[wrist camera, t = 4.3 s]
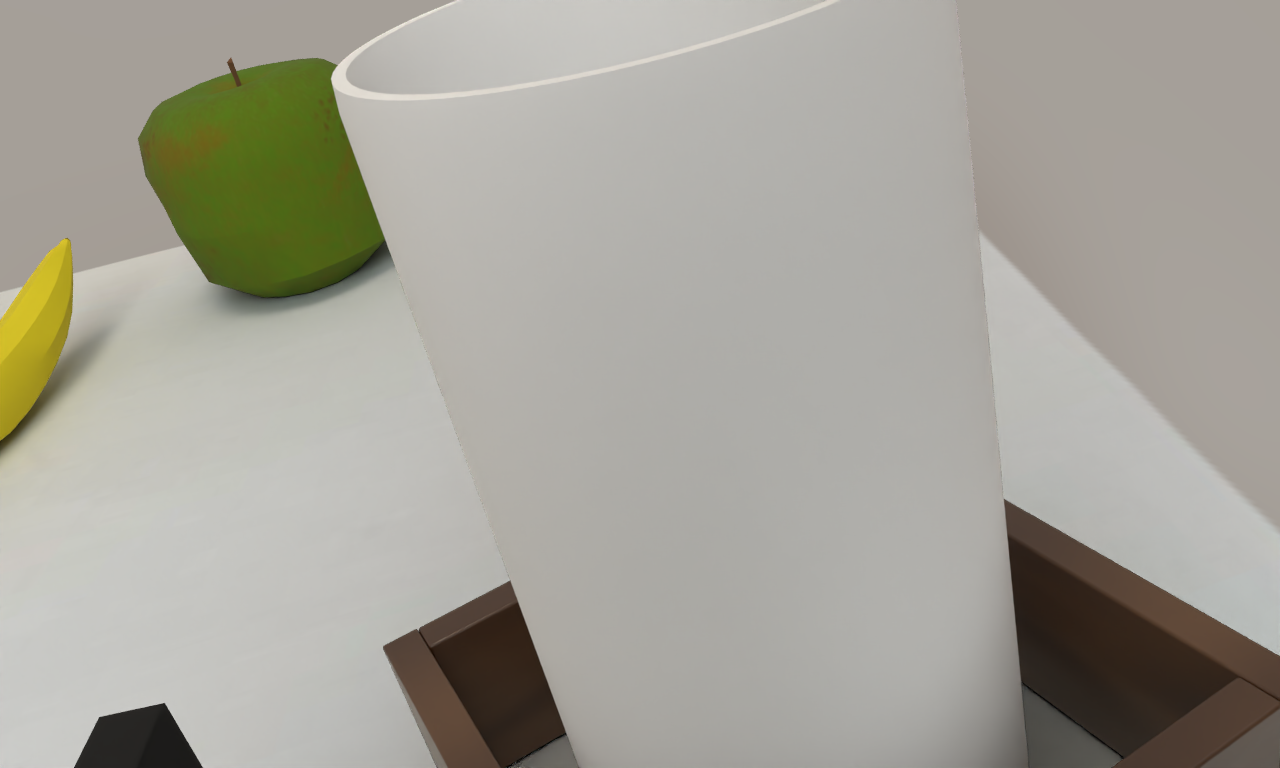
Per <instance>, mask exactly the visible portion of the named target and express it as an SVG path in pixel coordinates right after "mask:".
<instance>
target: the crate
mask: <svg viewBox="0 0 1280 768" xmlns="http://www.w3.org/2000/svg"><path fill="white" fill-rule="evenodd" d="M1004 506H1005V517H1006V527H1007V538H1008V549H1009V559H1010V570H1011V580H1012V591H1013V602H1014V612H1015V623H1016V634H1017V644H1018V655H1019V665H1020V676H1021V682H1023V683H1024V684H1025V685H1027V686H1028V687H1029V688H1031V689H1032V690H1034V691H1035V692H1036V693H1038V694H1039V695H1040V696H1042V697H1043V698H1044V699H1046V700H1047V701H1048V702H1050V703H1051V704H1053V705H1054V706H1055V707H1057V708H1058V709H1059V710H1061V711H1062V712H1063V713H1065V714H1066V715H1067V716H1069V717H1070V718H1072V719H1073V720H1074V721H1076V722H1077V723H1078V724H1080V725H1081V726H1082V727H1084V728H1085V729H1086V730H1088V731H1089V732H1090V733H1092V734H1093V735H1095V736H1096V737H1097V738H1099V739H1100V740H1101V741H1103V742H1104V743H1105V744H1107V745H1108V746H1109V747H1111V748H1112V749H1114V750H1115V751H1116V752H1118V753H1119V754H1120V755H1122V756H1123V757H1124V759H1123V760H1121V761H1120V762H1119V763H1117V764H1116V765H1114V766H1113V767H1112V768H1280V656H1279V655H1277V654H1275V653H1273V652H1272V651H1270V650H1268V649H1266V648H1264V647H1263V646H1261V645H1259V644H1257V643H1256V642H1254V641H1252V640H1250V639H1249V638H1247V637H1245V636H1243V635H1242V634H1240V633H1238V632H1236V631H1235V630H1233V629H1231V628H1229V627H1228V626H1226V625H1224V624H1222V623H1221V622H1219V621H1217V620H1215V619H1214V618H1212V617H1210V616H1208V615H1207V614H1205V613H1203V612H1201V611H1200V610H1198V609H1196V608H1194V607H1193V606H1191V605H1189V604H1187V603H1185V602H1184V601H1182V600H1180V599H1178V598H1177V597H1175V596H1173V595H1171V594H1170V593H1168V592H1166V591H1164V590H1163V589H1161V588H1159V587H1157V586H1156V585H1154V584H1152V583H1150V582H1149V581H1147V580H1145V579H1143V578H1142V577H1140V576H1138V575H1136V574H1135V573H1133V572H1131V571H1129V570H1128V569H1126V568H1124V567H1122V566H1121V565H1119V564H1117V563H1115V562H1114V561H1112V560H1110V559H1108V558H1107V557H1105V556H1103V555H1101V554H1099V553H1098V552H1096V551H1094V550H1092V549H1091V548H1089V547H1087V546H1085V545H1084V544H1082V543H1080V542H1078V541H1077V540H1075V539H1073V538H1071V537H1070V536H1068V535H1066V534H1064V533H1063V532H1061V531H1059V530H1057V529H1056V528H1054V527H1052V526H1050V525H1049V524H1047V523H1045V522H1043V521H1042V520H1040V519H1038V518H1036V517H1035V516H1033V515H1031V514H1029V513H1028V512H1026V511H1024V510H1022V509H1021V508H1019V507H1017V506H1015V505H1013V504H1012V503H1010V502H1008V501H1006V500H1005V499H1004ZM383 650H384V652H385V654H386V656H387V658H388V661H389V663H390V665H391V667H392V670H393V672H394V674H395V676H396V678H397V681H398V683H399V685H400V687H401V689H402V692H403V694H404V696H405V698H406V701H407V703H408V705H409V707H410V709H411V712H412V714H413V716H414V718H415V720H416V723H417V725H418V727H419V729H420V732H421V734H422V736H423V738H424V740H425V743H426V745H427V747H428V749H429V751H430V754H431V756H432V758H433V760H434V763H435V765H436V767H437V768H505V767H507V766H509V765H510V764H512V763H514V762H516V761H517V760H519V759H521V758H522V757H524V756H526V755H528V754H529V753H531V752H533V751H535V750H536V749H538V748H540V747H541V746H543V745H545V744H547V743H548V742H550V741H552V740H554V739H555V738H557V737H559V736H561V735H562V734H564V733H566V731H565V728H564V725H563V723H562V720H561V717H560V714H559V712H558V709H557V706H556V704H555V701H554V698H553V695H552V693H551V690H550V687H549V684H548V682H547V679H546V676H545V674H544V671H543V668H542V665H541V663H540V660H539V657H538V655H537V652H536V649H535V646H534V644H533V641H532V638H531V635H530V633H529V630H528V627H527V625H526V622H525V619H524V616H523V614H522V611H521V608H520V606H519V603H518V600H517V597H516V595H515V592H514V589H513V586H512V584H511V581H509V582H507V583H505V584H503V585H501V586H499V587H497V588H495V589H493V590H491V591H489V592H487V593H486V594H484V595H482V596H480V597H478V598H476V599H474V600H472V601H470V602H468V603H466V604H464V605H462V606H461V607H459V608H457V609H455V610H453V611H451V612H449V613H447V614H445V615H443V616H441V617H439V618H437V619H435V620H434V621H432V622H430V623H428V624H426V625H424V626H422V627H420V628H419V631H418V630H417V629H415V630H413V631H411V632H409V633H407V634H406V635H404V636H402V637H400V638H398V639H396V640H394V641H392V642H390V643H388V644H386V645H384V646H383Z"/></svg>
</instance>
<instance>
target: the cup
mask: <svg viewBox="0 0 1280 768" xmlns="http://www.w3.org/2000/svg"><path fill="white" fill-rule="evenodd" d="M331 81H332V85H333V89H334V93H335V98H336V102H337V106H338V110H339V114H340V117H341V119H342V122H343V125H344V128H345V130H346V133H347V136H348V139H349V141H350V144H351V147H352V150H353V152H354V155H355V158H356V161H357V163H358V166H359V169H360V172H361V174H362V177H363V180H364V183H365V185H366V188H367V191H368V194H369V196H370V199H371V202H372V205H373V207H374V210H375V213H376V216H377V218H378V221H379V224H380V227H381V229H382V232H383V235H384V238H385V240H386V243H387V246H388V249H389V251H390V254H391V257H392V260H393V262H394V265H395V268H396V271H397V273H398V276H399V279H400V281H401V284H402V287H403V290H404V292H405V295H406V298H407V301H408V303H409V306H410V309H411V311H412V314H413V317H414V320H415V322H416V325H417V328H418V330H419V333H420V336H421V339H422V341H423V344H424V347H425V350H426V352H427V355H428V358H429V360H430V363H431V366H432V369H433V371H434V374H435V377H436V379H437V382H438V385H439V388H440V390H441V393H442V396H443V399H444V401H445V404H446V407H447V409H448V412H449V415H450V418H451V420H452V423H453V426H454V429H455V431H456V434H457V437H458V439H459V442H460V445H461V448H462V450H463V453H464V456H465V458H466V461H467V464H468V467H469V469H470V472H471V475H472V478H473V480H474V483H475V486H476V488H477V491H478V494H479V497H480V499H481V502H482V505H483V507H484V510H485V513H486V516H487V518H488V521H489V524H490V527H491V529H492V532H493V535H494V537H495V540H496V543H497V546H498V548H499V551H500V554H501V556H502V559H503V562H504V565H505V567H506V570H507V573H508V576H509V578H510V581H511V584H512V586H513V589H514V592H515V595H516V597H517V600H518V603H519V606H520V608H521V611H522V614H523V616H524V619H525V622H526V625H527V627H528V630H529V633H530V635H531V638H532V641H533V644H534V646H535V649H536V652H537V655H538V657H539V660H540V663H541V665H542V668H543V671H544V674H545V676H546V679H547V682H548V684H549V687H550V690H551V693H552V695H553V698H554V701H555V704H556V706H557V709H558V712H559V714H560V717H561V720H562V723H563V725H564V728H565V731H566V733H567V736H568V739H569V742H570V744H571V747H572V750H573V753H574V755H575V758H576V761H577V763H578V766H579V768H1029V761H1028V750H1027V740H1026V729H1025V718H1024V708H1023V697H1022V687H1021V676H1020V665H1019V655H1018V644H1017V634H1016V623H1015V612H1014V602H1013V591H1012V580H1011V570H1010V559H1009V549H1008V538H1007V527H1006V517H1005V506H1004V496H1003V485H1002V474H1001V464H1000V453H999V443H998V432H997V421H996V411H995V400H994V389H993V379H992V368H991V358H990V347H989V336H988V326H987V315H986V305H985V294H984V283H983V273H982V262H981V252H980V241H979V230H978V220H977V209H976V200H975V188H974V177H973V167H972V156H971V145H970V135H969V125H968V115H967V104H966V94H965V84H964V74H963V64H962V53H961V42H960V33H959V22H958V12H957V1H956V0H456V1H454V2H451V3H448V4H446V5H444V6H441V7H439V8H436V9H434V10H432V11H429V12H427V13H425V14H422V15H420V16H418V17H416V18H413V19H411V20H409V21H407V22H405V23H403V24H401V25H399V26H397V27H395V28H393V29H391V30H389V31H387V32H385V33H383V34H381V35H379V36H378V37H376V38H374V39H372V40H371V41H369V42H367V43H366V44H364V45H363V46H361V47H360V48H358V49H357V50H355V51H354V52H352V53H351V54H350V55H349V56H347V57H346V58H345V59H344V60H343V61H342V62H341V63H340V64H339V65H338V66H337V67H336V69H335V70H334V72H333V74H332V77H331Z"/></svg>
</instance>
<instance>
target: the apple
mask: <svg viewBox="0 0 1280 768" xmlns="http://www.w3.org/2000/svg"><path fill="white" fill-rule="evenodd" d="M227 63H228V66H229V68H230V70H231V73H230V74H226V75H223V76H220V77H217V78H214V79H211V80H209V81H206V82H203V83H200V84H198V85H196V86H194V87H192V88H190V89H188V90H186V91H184V92H182V93H180V94H178V95H176V96H173V97H171V98H169V99H167V100H165V101H163V102H162V103H161V104H160V105H159V106H157V107H156V108H155V109H154V110H153V112H152V113H151V115H150V117H149V119H148V121H147V123H146V125H145V127H144V129H143V130H142V132H141V134H140V136H139V138H138V141H139V145H140V150H141V156H142V160H143V165H144V170H145V175H146V177H147V179H148V181H149V182H150V184H151V186H152V187H153V189H154V191H155V193H156V194H157V196H158V198H159V199H160V201H161V203H162V204H163V206H164V208H165V210H166V212H167V214H168V216H169V218H170V220H171V222H172V224H173V226H174V228H175V230H176V232H177V234H178V236H179V237H180V239H181V240H182V242H183V243H184V245H185V246H186V248H187V249H188V251H189V252H190V254H191V255H192V257H193V258H194V260H195V261H196V263H197V264H198V266H199V267H200V269H201V270H202V272H203V273H204V275H205V276H206V278H207V279H208V281H209V282H211V283H214V284H218V285H221V286H225V287H228V288H232V289H235V290H238V291H242V292H245V293H249V294H253V295H256V296H260V297H286V296H291V295H297V294H302V293H308V292H313V291H315V290H318V289H321V288H323V287H326V286H329V285H331V284H334V283H337V282H339V281H340V280H342V279H344V278H345V277H347V276H348V275H350V274H352V273H353V272H355V271H357V270H358V269H359V268H360V267H361V266H362V265H363V264H364V263H365V262H366V261H367V260H368V259H369V257H370V256H371V255H372V254H373V253H374V252H375V251H376V250H377V249H378V248H379V247H380V245H381V244H382V243H383V242H384V241H385V238H384V235H383V232H382V229H381V227H380V224H379V221H378V218H377V216H376V213H375V210H374V207H373V205H372V202H371V199H370V196H369V194H368V191H367V188H366V185H365V183H364V180H363V177H362V174H361V172H360V169H359V166H358V163H357V161H356V158H355V155H354V152H353V150H352V147H351V144H350V141H349V139H348V136H347V133H346V130H345V128H344V125H343V122H342V119H341V117H340V114H339V110H338V106H337V102H336V98H335V93H334V89H333V85H332V81H331V77H332V74H333V72H334V70H335V69H336V67H337V66H338V65H336V64H333V63H331V62H329V61H326V60H324V59H319V58H310V59H298V60H291V61H284V62H278V63H272V64H266V65H261V66H256V67H252V68H248V69H243V70H240V71H236V69H235V67H234V64H233V62H232V59H231V58H230V59H229V61H228V62H227Z"/></svg>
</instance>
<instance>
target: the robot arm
mask: <svg viewBox="0 0 1280 768" xmlns="http://www.w3.org/2000/svg"><path fill="white" fill-rule="evenodd" d="M74 768H203V767H202V766H201V764H200V762H199V760H198V759H197V757H196V755H195V754H194V752H193V750H192V749H191V747H190V745H189V743H188V742H187V740H186V738H185V737H184V735H183V733H182V732H181V730H180V728H179V727H178V725H177V723H176V721H175V720H174V718H173V716H172V715H171V713H170V711H169V710H168V708H167V706H166V705H165V703H163V704H158V705H154V706H149V707H144V708H140V709H135V710H130V711H126V712H121V713H116V714H112V715H107V716H103V717H99V719H98V721H97V723H96V725H95V727H94V729H93V731H92V733H91V735H90V737H89V739H88V741H87V743H86V745H85V747H84V749H83V751H82V753H81V755H80V757H79V759H78V761H77V763H76V765H75V767H74Z"/></svg>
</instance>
